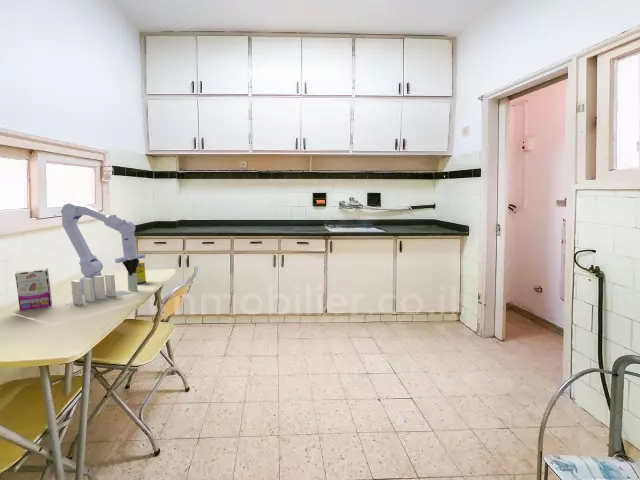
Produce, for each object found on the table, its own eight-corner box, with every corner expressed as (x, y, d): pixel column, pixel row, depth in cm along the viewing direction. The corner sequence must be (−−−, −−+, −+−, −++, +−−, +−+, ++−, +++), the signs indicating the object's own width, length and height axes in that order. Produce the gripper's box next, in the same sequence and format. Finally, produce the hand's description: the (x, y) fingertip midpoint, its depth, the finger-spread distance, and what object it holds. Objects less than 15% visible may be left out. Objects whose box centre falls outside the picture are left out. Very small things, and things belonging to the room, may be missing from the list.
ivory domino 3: (102, 299, 187) (100, 277, 186) (95, 297, 189) (93, 276, 188) (105, 298, 188) (103, 276, 187) (99, 297, 191) (97, 275, 190)
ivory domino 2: (91, 301, 183) (89, 279, 181) (84, 300, 185) (82, 278, 184) (94, 301, 184) (92, 278, 183) (88, 299, 187) (86, 277, 185)
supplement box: (146, 282, 223) (144, 262, 221) (136, 284, 218) (134, 264, 216) (139, 281, 226) (137, 261, 225) (129, 283, 221) (127, 263, 219)
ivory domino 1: (79, 304, 178) (77, 281, 177) (73, 303, 181) (71, 280, 180) (83, 303, 180) (81, 281, 178) (77, 302, 182) (74, 280, 181)
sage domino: (134, 294, 200) (133, 273, 199) (128, 293, 203) (127, 272, 202) (137, 293, 202) (136, 273, 201) (131, 292, 204) (130, 272, 203)
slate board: (77, 308, 175) (77, 306, 175) (65, 305, 181) (65, 303, 180) (133, 294, 197) (133, 292, 197) (121, 291, 202) (120, 290, 202)
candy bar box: (52, 305, 181) (48, 268, 179) (51, 308, 177) (47, 269, 175) (21, 309, 176) (16, 271, 174) (19, 312, 172) (14, 273, 170)
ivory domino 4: (112, 296, 191) (110, 275, 190) (106, 295, 194) (104, 274, 192) (116, 295, 192) (114, 274, 191) (109, 294, 195) (107, 273, 194)
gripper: (120, 249, 191) (123, 278, 193) (147, 245, 204) (150, 272, 205) (111, 249, 195) (114, 277, 197) (138, 244, 207) (141, 271, 209)
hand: (132, 275), depth 201 cm, fingers closed on sage domino
